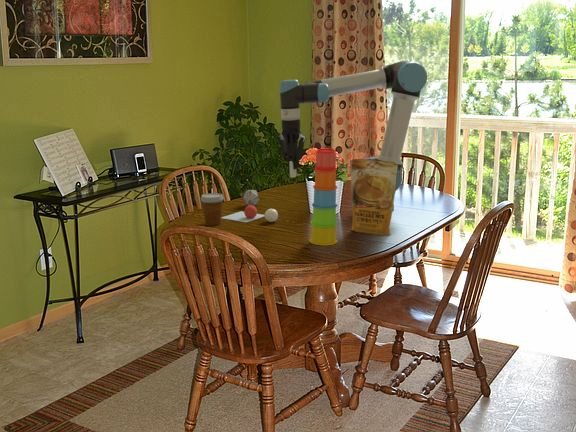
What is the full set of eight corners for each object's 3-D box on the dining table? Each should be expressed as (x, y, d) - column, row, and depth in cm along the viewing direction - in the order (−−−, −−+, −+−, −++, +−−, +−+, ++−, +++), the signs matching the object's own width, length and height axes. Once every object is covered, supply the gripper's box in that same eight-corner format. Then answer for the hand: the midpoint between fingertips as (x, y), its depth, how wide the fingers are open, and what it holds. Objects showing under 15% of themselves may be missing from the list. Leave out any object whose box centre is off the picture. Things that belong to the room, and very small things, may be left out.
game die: (254, 213, 324) (266, 195, 325) (252, 211, 316) (264, 192, 317) (238, 203, 326) (250, 184, 326) (235, 200, 317) (247, 181, 318)
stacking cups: (335, 238, 267) (335, 146, 259) (338, 245, 257) (338, 150, 249) (308, 238, 267) (307, 147, 259) (310, 246, 257) (309, 151, 249)
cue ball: (270, 205, 295) (268, 216, 297) (263, 208, 290) (260, 220, 292) (281, 210, 292) (278, 222, 295) (274, 214, 288) (271, 225, 290)
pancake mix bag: (353, 227, 282) (353, 157, 276) (398, 233, 273) (399, 161, 266) (345, 231, 277) (345, 160, 270) (390, 237, 267) (392, 163, 260)
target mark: (266, 215, 304) (266, 215, 304) (246, 222, 293) (246, 222, 293) (241, 211, 312) (241, 211, 312) (220, 218, 301) (220, 217, 301)
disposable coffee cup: (203, 227, 286) (202, 198, 283) (200, 222, 295) (198, 193, 292) (226, 225, 288) (225, 196, 285) (222, 220, 297) (221, 192, 294)
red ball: (255, 201, 300) (247, 208, 304) (247, 204, 296) (239, 210, 299) (261, 213, 299) (253, 219, 303) (253, 215, 295) (245, 221, 298)
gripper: (272, 119, 285) (275, 177, 291) (299, 120, 278) (301, 179, 284) (282, 117, 291) (285, 174, 297) (309, 118, 284) (311, 176, 290)
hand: (293, 176), depth 291 cm, fingers closed
